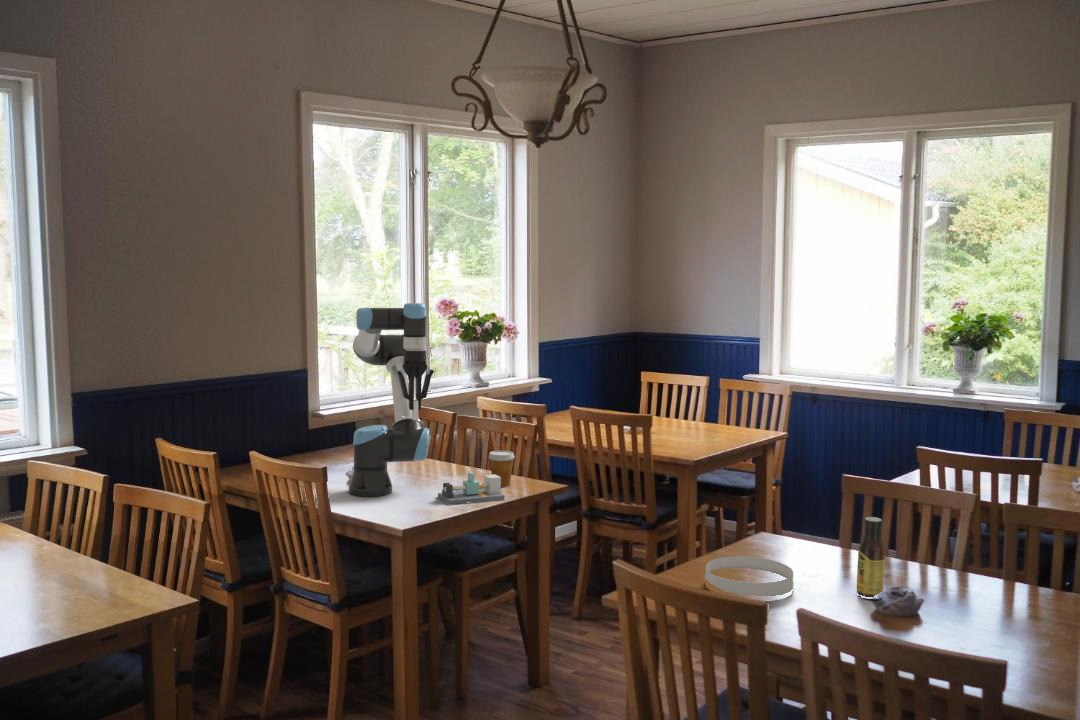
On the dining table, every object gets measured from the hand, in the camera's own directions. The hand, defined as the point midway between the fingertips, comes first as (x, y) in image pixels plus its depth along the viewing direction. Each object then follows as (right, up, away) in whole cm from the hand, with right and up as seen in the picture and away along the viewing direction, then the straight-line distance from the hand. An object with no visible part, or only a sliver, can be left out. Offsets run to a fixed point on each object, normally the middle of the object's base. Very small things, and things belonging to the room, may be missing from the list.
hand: (414, 419), depth 332 cm
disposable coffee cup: (+28, -26, +30) cm, 49 cm away
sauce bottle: (+123, -39, -88) cm, 157 cm away
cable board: (+18, -28, +9) cm, 35 cm away
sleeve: (+18, -26, +9) cm, 33 cm away
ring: (+95, -38, -82) cm, 131 cm away
